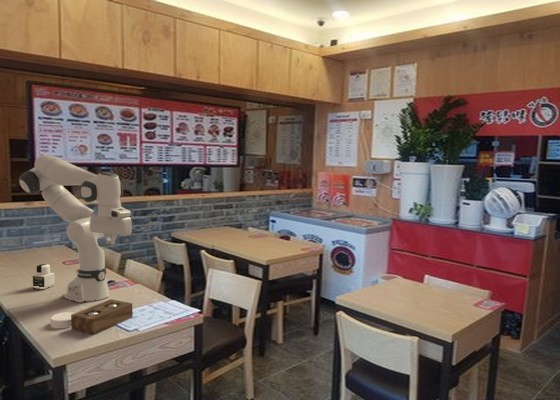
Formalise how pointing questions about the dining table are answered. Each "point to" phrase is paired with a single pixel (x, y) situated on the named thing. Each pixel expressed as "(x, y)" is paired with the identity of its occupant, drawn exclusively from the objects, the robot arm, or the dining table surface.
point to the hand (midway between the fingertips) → (110, 244)
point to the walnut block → (101, 317)
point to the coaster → (61, 320)
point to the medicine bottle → (43, 276)
